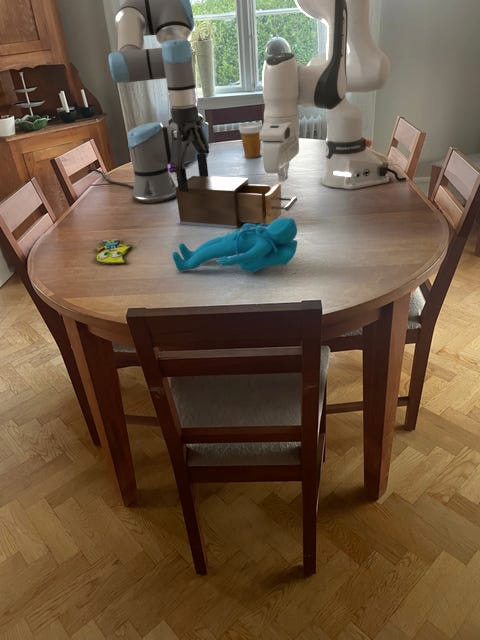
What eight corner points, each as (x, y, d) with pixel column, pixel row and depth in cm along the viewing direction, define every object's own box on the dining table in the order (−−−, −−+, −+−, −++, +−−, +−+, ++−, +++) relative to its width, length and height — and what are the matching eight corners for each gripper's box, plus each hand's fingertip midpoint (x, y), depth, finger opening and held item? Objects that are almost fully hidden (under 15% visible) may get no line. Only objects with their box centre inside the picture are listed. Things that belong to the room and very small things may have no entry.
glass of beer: (264, 157, 198) (262, 127, 191) (241, 159, 198) (238, 129, 192) (263, 152, 206) (261, 122, 199) (241, 153, 206) (239, 124, 200)
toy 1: (135, 237, 135) (125, 260, 122) (135, 240, 135) (125, 263, 123) (99, 239, 135) (85, 263, 122) (100, 242, 135) (86, 266, 123)
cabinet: (250, 214, 146) (248, 178, 140) (236, 228, 137) (233, 190, 131) (197, 210, 152) (192, 175, 146) (180, 223, 143) (175, 187, 137)
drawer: (298, 214, 139) (298, 184, 135) (288, 228, 132) (287, 196, 127) (229, 210, 147) (226, 181, 142) (215, 222, 139) (212, 192, 134)
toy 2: (183, 229, 122) (297, 202, 112) (198, 266, 128) (308, 242, 117) (161, 259, 109) (288, 230, 99) (178, 298, 114) (301, 275, 104)
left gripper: (192, 97, 140) (200, 170, 152) (148, 116, 121) (162, 197, 133) (215, 96, 137) (222, 170, 149) (174, 116, 119) (186, 199, 130)
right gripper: (282, 118, 132) (283, 168, 139) (256, 135, 116) (259, 191, 123) (304, 118, 129) (304, 169, 137) (281, 135, 114) (283, 192, 121)
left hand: (194, 183), depth 141 cm, fingers open, 13 cm apart
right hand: (283, 180), depth 130 cm, fingers closed
